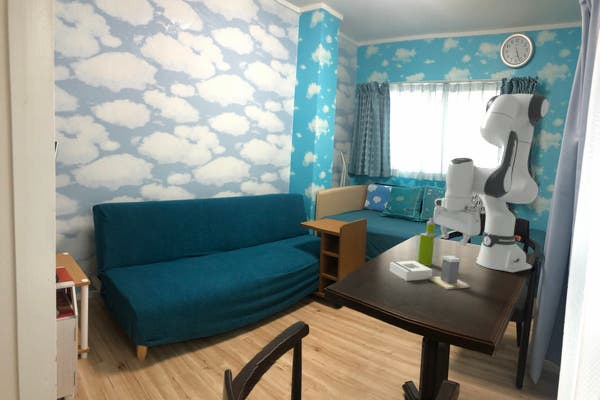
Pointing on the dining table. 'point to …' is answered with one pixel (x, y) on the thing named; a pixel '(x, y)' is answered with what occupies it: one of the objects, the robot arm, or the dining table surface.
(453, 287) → the coaster
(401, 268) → the white flat square piece
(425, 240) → the vape
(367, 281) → the dining table surface
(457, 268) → the plug
